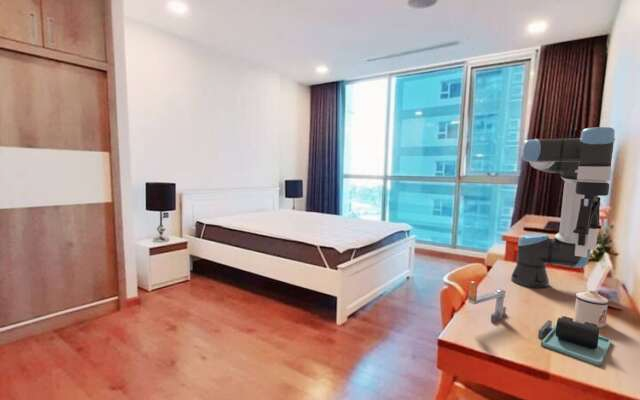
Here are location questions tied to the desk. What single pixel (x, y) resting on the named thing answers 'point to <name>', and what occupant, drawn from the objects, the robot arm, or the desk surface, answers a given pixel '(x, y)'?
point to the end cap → (577, 332)
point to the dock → (502, 311)
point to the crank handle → (482, 298)
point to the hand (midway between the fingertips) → (585, 252)
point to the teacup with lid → (591, 308)
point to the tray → (578, 348)
